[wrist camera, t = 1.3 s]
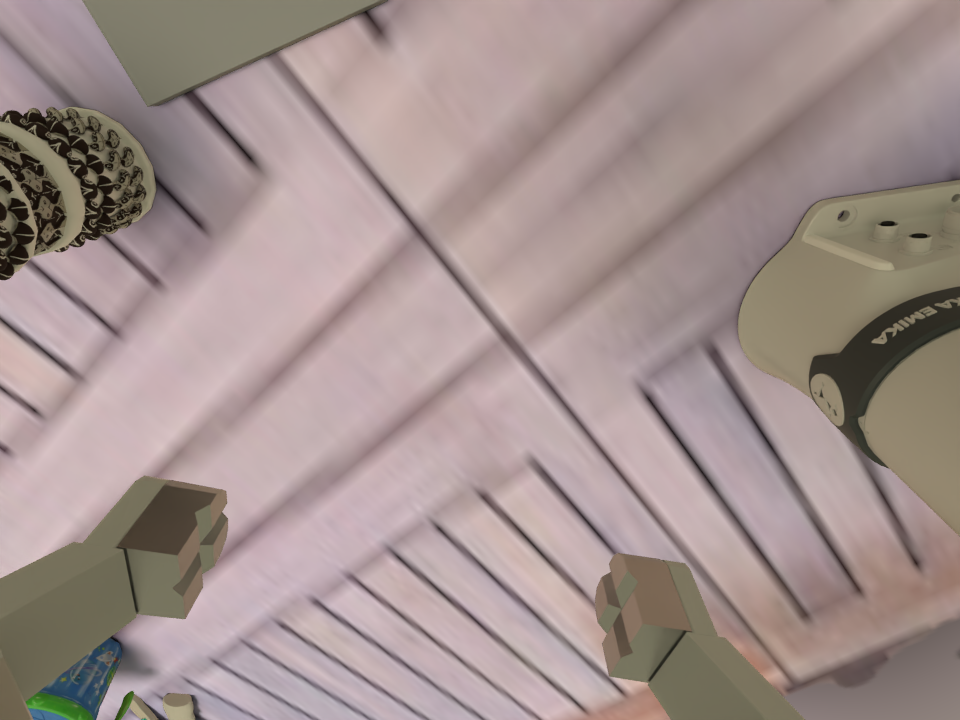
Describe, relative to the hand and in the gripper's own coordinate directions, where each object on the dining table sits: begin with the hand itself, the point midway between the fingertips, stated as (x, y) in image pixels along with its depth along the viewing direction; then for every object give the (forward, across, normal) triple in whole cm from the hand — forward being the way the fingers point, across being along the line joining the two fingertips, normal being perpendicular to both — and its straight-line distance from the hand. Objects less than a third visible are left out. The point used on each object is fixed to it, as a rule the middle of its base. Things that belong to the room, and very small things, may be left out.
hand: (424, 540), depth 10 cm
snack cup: (+32, +37, +69) cm, 85 cm away
